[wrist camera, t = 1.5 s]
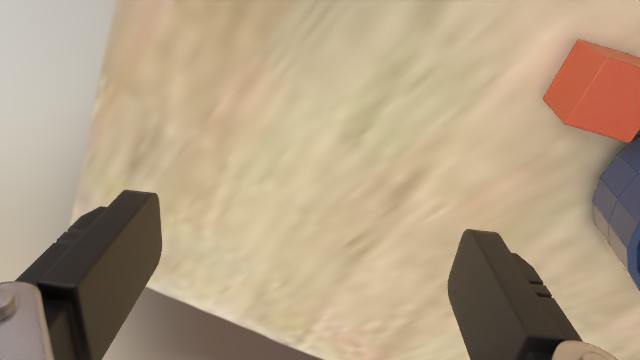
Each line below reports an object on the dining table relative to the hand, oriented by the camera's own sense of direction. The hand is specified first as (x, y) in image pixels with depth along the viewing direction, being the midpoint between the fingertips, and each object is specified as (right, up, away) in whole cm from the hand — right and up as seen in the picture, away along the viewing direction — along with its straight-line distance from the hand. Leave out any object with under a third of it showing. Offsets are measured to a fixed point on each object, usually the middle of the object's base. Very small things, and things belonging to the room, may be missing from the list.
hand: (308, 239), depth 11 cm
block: (+19, +9, +18) cm, 28 cm away
